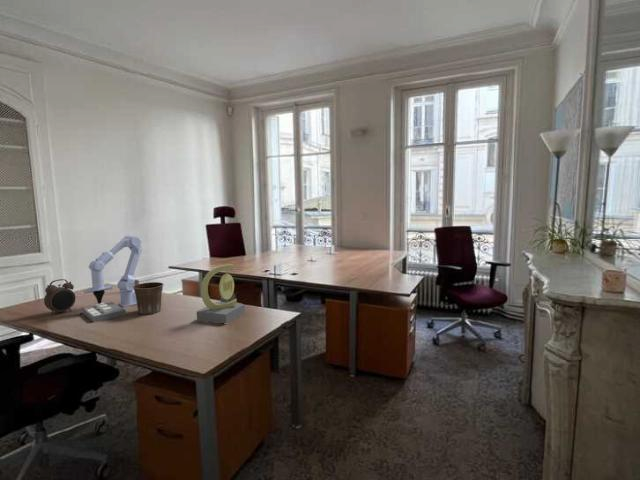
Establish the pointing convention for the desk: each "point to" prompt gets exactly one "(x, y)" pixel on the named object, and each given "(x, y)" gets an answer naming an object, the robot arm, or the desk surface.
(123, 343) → the desk surface
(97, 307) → the button
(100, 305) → the button
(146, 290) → the plant pot
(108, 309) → the button
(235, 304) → the trophy
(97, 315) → the button panel
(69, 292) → the alarm clock
